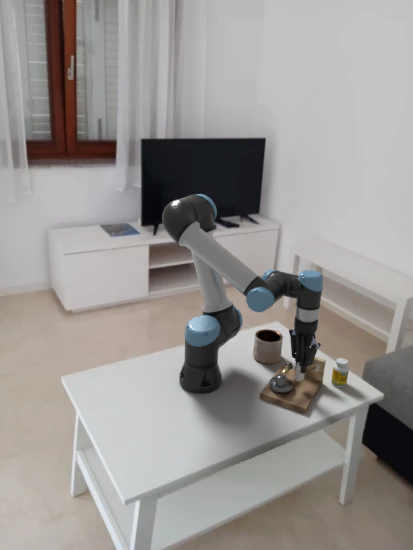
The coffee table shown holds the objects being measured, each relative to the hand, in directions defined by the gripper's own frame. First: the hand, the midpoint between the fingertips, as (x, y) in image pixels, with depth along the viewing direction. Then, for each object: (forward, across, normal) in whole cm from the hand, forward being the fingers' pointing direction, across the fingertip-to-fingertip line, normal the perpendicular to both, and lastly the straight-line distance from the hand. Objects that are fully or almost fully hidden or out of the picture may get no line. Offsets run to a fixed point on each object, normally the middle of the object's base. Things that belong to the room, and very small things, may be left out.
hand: (299, 379), depth 162 cm
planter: (+6, +24, -5) cm, 25 cm away
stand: (+6, +2, +1) cm, 6 cm away
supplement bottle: (+6, -3, -17) cm, 18 cm away
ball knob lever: (+4, +4, +3) cm, 6 cm away
